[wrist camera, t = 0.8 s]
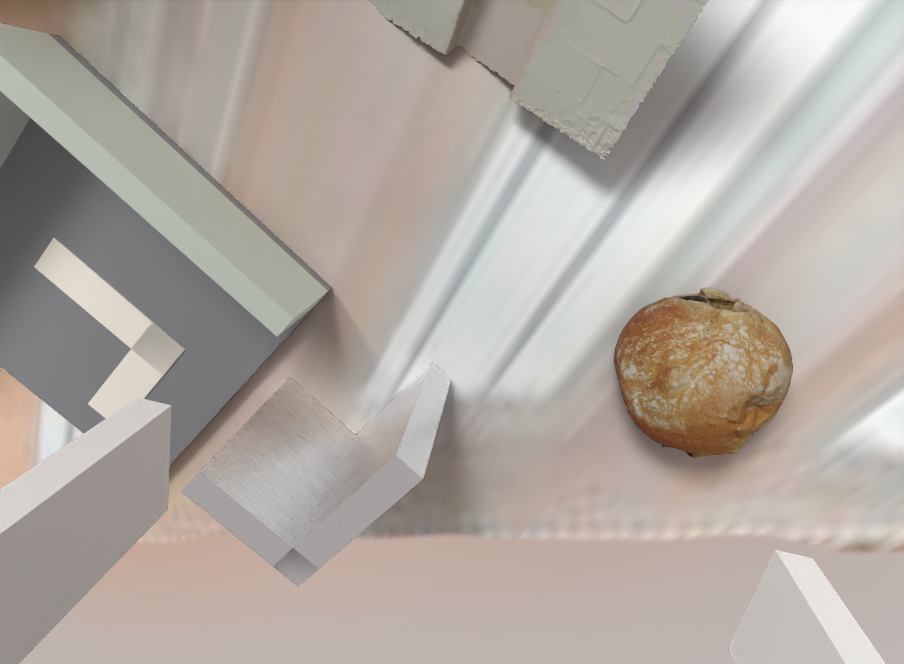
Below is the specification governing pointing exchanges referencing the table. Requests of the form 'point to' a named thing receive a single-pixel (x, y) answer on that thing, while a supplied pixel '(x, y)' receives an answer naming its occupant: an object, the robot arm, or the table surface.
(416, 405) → the angle bracket
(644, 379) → the bread roll
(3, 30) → the corner tray
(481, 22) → the wall
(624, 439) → the table surface
